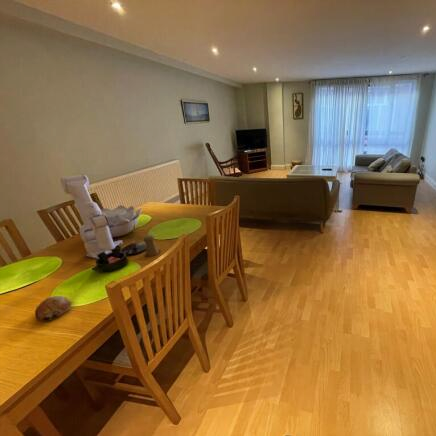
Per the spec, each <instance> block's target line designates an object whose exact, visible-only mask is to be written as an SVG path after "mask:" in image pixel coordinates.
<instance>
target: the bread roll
mask: <svg viewBox="0 0 436 436" xmlns="http://www.w3.org/2000/svg"><path fill="white" fill-rule="evenodd" d="M71 307H72V302H71V300H70V299H69V298H68V297H65V296H61V295H53V296H50V297H46V298H45V299H44V300H42V301H41V302H40V303H39V305H37V306H36V309H35V311H34V315H35V319H36V320H37V321H40V322H48V321H52V320H55V319H57V318H59V317H61V316H62V315H64V314H66V313H67V312H68V311H69V310H70V309H71Z"/></svg>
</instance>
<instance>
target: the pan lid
mask: <svg viewBox="0 0 436 436" xmlns="http://www.w3.org/2000/svg"><path fill="white" fill-rule="evenodd" d="M124 251H129V253H128V254H126V256H127V255H128V256H130V255H131V256H132V255H137V254H139V253H142V252H144V251H146V242H145V241H144V242H143V241H142V242H141V241H140V242H137V241H135V240H134V241H131V242H130V244H128V245H125V246H124V247H122V248H121V250H120V252H124Z"/></svg>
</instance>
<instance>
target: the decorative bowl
mask: <svg viewBox="0 0 436 436" xmlns="http://www.w3.org/2000/svg"><path fill="white" fill-rule="evenodd" d="M101 212H103V213H104V214H105V215H106V217H107V218H108V221H109V225H108V227H109V230H110V233H111V237H112V238H117V237H122V236H124V235H127V234H129V233H130V232H132V231H133V230H135V229H136V227H137V226H138V223H139V217H140V216H141V213H142V208H141V207H140V208H139V209H138V210H135V207H134V206H133V205H131V206H129V207H126V206H125V205H123V204H120V205H118V206H117V207H115V208H113V209H111V208H107V207H106V208H103V209H101ZM91 229H92V228H91Z"/></svg>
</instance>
